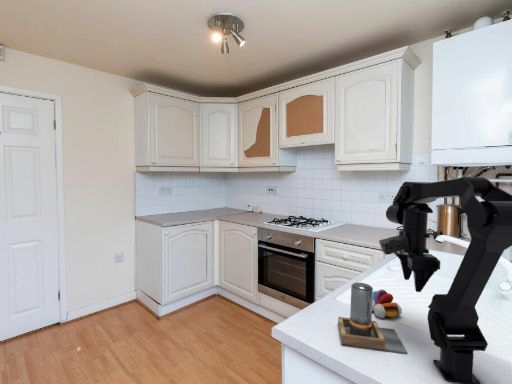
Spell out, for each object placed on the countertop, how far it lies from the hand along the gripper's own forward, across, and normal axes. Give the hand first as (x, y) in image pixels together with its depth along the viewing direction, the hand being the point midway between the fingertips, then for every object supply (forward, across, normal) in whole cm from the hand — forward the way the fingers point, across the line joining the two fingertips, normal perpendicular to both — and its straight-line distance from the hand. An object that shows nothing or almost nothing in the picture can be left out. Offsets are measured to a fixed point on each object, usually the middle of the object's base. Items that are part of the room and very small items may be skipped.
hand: (411, 285), depth 76 cm
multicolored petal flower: (+13, -10, -5) cm, 18 cm away
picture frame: (+13, +6, -11) cm, 18 cm away
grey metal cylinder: (+13, +6, -14) cm, 20 cm away
